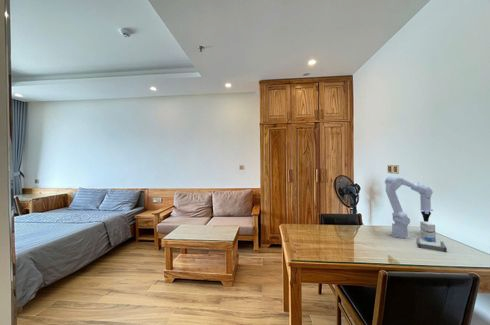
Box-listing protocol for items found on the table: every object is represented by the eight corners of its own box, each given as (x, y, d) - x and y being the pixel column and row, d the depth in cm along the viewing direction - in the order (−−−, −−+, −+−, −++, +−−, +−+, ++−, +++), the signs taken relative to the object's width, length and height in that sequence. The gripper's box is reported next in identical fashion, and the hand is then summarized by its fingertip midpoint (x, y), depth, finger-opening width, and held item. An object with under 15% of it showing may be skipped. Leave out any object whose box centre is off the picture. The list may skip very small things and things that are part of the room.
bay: (418, 247, 137) (418, 243, 137) (416, 241, 147) (416, 237, 147) (446, 252, 129) (446, 248, 129) (443, 245, 139) (442, 241, 139)
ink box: (436, 242, 145) (435, 224, 145) (427, 241, 146) (427, 224, 146) (428, 237, 153) (427, 221, 153) (420, 237, 154) (419, 221, 154)
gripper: (434, 205, 150) (434, 224, 150) (431, 202, 162) (431, 220, 162) (421, 204, 154) (421, 223, 154) (419, 201, 166) (419, 218, 166)
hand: (425, 221), depth 158 cm, fingers closed
